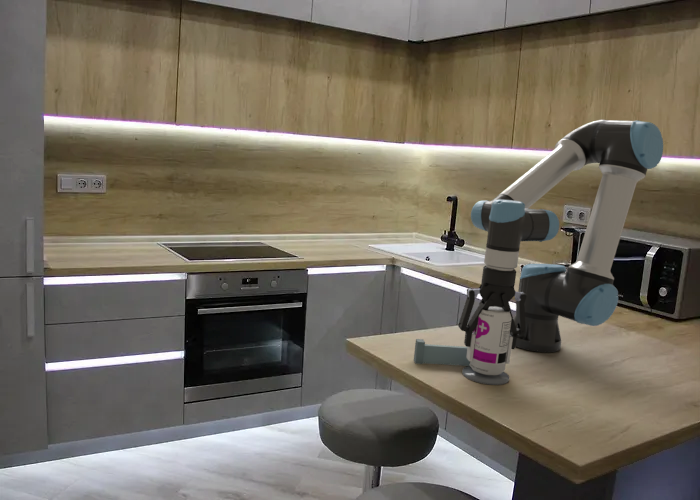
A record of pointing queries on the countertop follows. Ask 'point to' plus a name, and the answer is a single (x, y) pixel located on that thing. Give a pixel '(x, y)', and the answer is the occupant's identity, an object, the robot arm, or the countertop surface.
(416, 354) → the handle
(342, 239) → the countertop surface
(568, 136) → the robot arm
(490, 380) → the coaster
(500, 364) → the supplement can
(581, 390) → the countertop surface
